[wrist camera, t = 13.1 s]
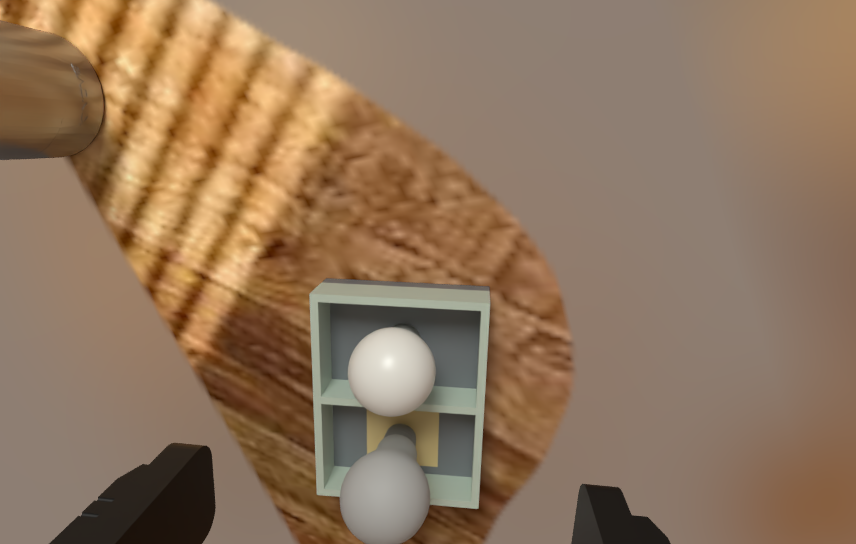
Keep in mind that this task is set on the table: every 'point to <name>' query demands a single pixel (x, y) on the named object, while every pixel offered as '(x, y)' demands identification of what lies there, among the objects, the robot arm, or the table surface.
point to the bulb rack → (400, 378)
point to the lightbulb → (386, 491)
